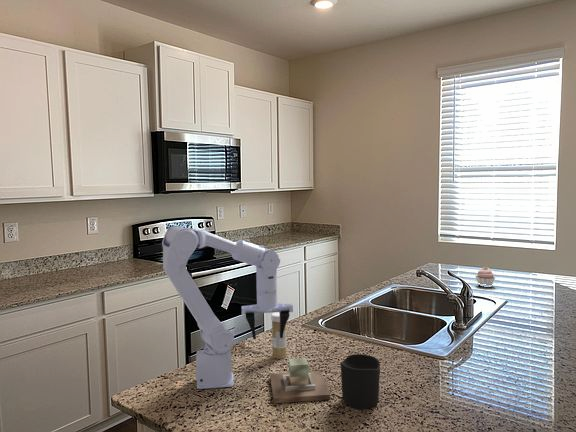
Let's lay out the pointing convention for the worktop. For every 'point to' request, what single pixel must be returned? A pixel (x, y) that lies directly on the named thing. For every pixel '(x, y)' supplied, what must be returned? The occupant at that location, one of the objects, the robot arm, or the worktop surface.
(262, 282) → the robot arm
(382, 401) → the worktop surface
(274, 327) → the sprinkles bottle
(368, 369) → the pen holder
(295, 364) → the block stack
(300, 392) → the walnut board
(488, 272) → the cupcake
